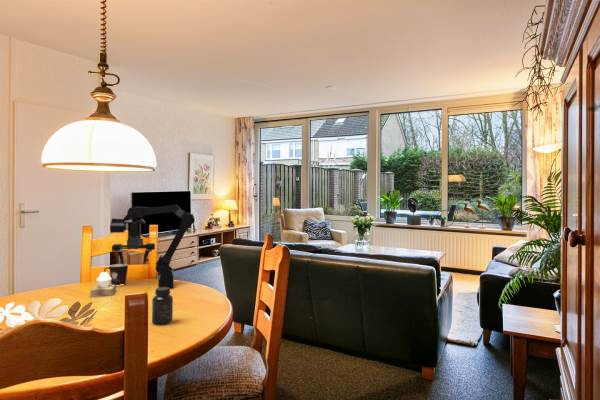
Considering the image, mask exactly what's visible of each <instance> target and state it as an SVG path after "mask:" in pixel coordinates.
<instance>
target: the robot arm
mask: <svg viewBox="0 0 600 400" xmlns="http://www.w3.org/2000/svg"><path fill="white" fill-rule="evenodd" d="M126 213H127V214H126V215H125V216H124V217H123V218H111V221H110V225H109V231H110V233H114V234H115V233H118V234H120V233H121V234H122V233H123V234H124V233H125V232H126V231H127V240H126V245H125V244H124V245H123V243H114V244H113V245H112V246H111V251H112V252H114V253H117V255H118V256H119V259H120V262H121V264H123V265H124V264H125V257H124V255H125V254H124V250H139V249H145V250H144V258H143V265H145V264H146V261H147V258H148V255H149V253H150V252H153V251H155V249H156V243H155V242H146V243H145V244H144V238H142V236H141V235H142V233H141V232H142V226H141V225H142V224H145V223H146V221H145V220H144V219H143V218H142V217H145V216H151V215H159V214H161V215H162V214H170V213H174V214H175V215H176V216H177V217H178V218H179V219H181V221H180V224H179V228H178V230H177V232H175V236H173V239H172V241H171V243H170V244H169V247H168V248H167V250H166V251H165V253H164V255H162V254H160V255H159V257H158V260H157V261H156V262H155V271H156V272H157V273H158V274H159V278H158V286H157V288H159V287H169V288H170V289H174V287H175V286H174V274H173V273H174V269H173V268H172V266H171V265H170V264H171V261H172V258H173V256H174V254H175V252H176V250H177V249H178V247H179V244H180V243H181V241H182V240H183V238H184V236H185V234H186V232H187V231H188V230H189V228H190V227H191V226H192V225H193V224H194V223H195V222H194V221H195V217H194V215H193V214H192V213H191V212H190V213H189V212H186V211H185V210H184V209H182V208H181V207H180V206H178V205H177V204H171V205H170V204H169V205H161V206H151V207H148V206H147V207H146V206H145V207H144V206H130V207H129V208H128V210H127V212H126ZM138 218H140V219H138ZM131 220H132V221H131Z"/></svg>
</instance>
